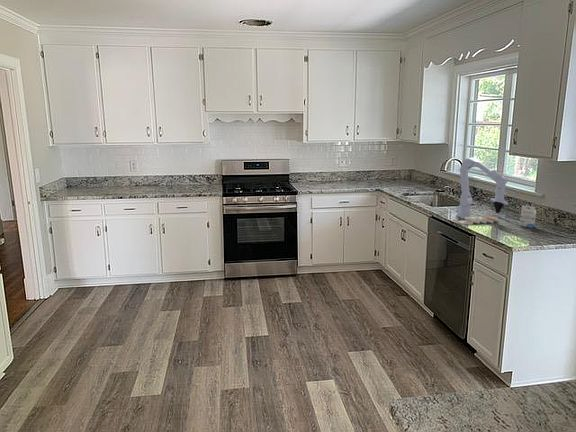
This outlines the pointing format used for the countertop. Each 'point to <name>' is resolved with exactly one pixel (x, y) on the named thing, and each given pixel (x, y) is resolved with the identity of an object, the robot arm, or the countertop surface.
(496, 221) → the terracotta domino
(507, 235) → the countertop surface
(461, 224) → the cream domino
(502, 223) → the mat
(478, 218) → the cream domino
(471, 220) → the cream domino
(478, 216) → the cream domino
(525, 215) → the ink box
